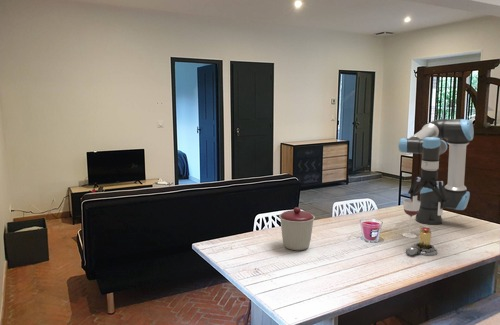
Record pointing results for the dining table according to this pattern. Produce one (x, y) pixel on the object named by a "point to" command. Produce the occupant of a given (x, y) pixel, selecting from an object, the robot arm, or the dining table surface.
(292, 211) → the canister
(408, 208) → the wineglass
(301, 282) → the dining table surface
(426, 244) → the yellow glass cylinder
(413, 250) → the grey flat curved piece
